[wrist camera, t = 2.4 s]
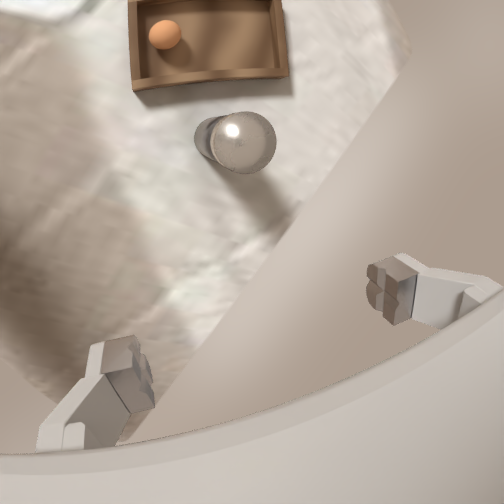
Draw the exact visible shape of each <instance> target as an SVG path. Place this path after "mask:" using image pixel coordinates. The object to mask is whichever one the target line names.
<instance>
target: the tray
mask: <svg viewBox="0 0 504 504" xmlns="http://www.w3.org/2000/svg"><path fill="white" fill-rule="evenodd" d="M163 20H170V21H173V22H175V23H177V24H178V25H179V27H180V29H181V38H180V40H179V42H178V43H177V44H176V45H175V46H174V47H172V48H170V49H164V50H163V49H158V48H156V47H154V46H153V45H152V44H151V43H150V40H149V32H150V30H151V28H152V27H153V25H155V24H156V23H158V22H160V21H163ZM128 30H129V51H130V67H131V80H132V90H133V92H136V91H142V90H148V89H154V88H160V87H167V86H175V85H183V84H192V83H202V82H213V81H226V80H244V79H281V78H284V77H288V76H289V71H288V59H287V49H286V38H285V29H284V19H283V10H282V2H281V0H128Z"/></svg>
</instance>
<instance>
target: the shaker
mask: <svg viewBox="0 0 504 504" xmlns="http://www.w3.org/2000/svg"><path fill="white" fill-rule="evenodd" d="M194 142H195V145H196V148H197V149H198V151H199V152H200V153H201V154H203V155H204V156H206V157H208V158H210V159H212V160H214V161H216V162H218V163H220V164H221V165H222V166H224V167H226V168H228V169H230V170H232V171H234V172H236V173H241V174H249V173H254V172H257V171H259V170H261V169H262V168H264V167H265V166H266V165H267V164H268V163H269V162H270V161H271V159H272V157H273V155H274V153H275V150H276V135H275V131H274V129H273V127H272V125H271V124H270V123H269V121H268V120H267V119H265V118H264V117H263V116H261V115H259V114H257V113H254V112H238V113H233V114H229V115H226V116H220V117H214V118H209V119H206V120H205V121H203V122H202V123H201V124H200V125H199V126H198V127H197V129H196V131H195V135H194Z"/></svg>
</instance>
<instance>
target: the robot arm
mask: <svg viewBox="0 0 504 504" xmlns="http://www.w3.org/2000/svg"><path fill="white" fill-rule="evenodd" d="M367 277H368V278H369V279H370V281H369V283H368V285H367V287H366V294H367V298H368V301H369V303H370V304H371V306H372V307H373V308H374V309H375V310H378V311H382V312H383V317H384V318H385V319H386V320H387V321H389V322H390V323H391V324H392V325H393V326H394V325H397V324H399V323H401V322H404V321H406V320H408V319H410V318H412V319H413V320H416V321H419V322H421V323H424V324H427V325H430V326H433V327H436V328H438V329H441V330H440V331H438V332H437V333H435V334H433V335H431V336H430V337H428V338H426V339H424V340H423V341H421V342H419V343H417V344H415V345H414V346H411V347H410V348H408V349H406V350H404V351H402V352H400V353H398V354H396V355H394V356H392V357H390V358H388V359H386V360H384V361H382V362H380V363H378V364H376V365H374V366H372V367H370V368H368V369H366V370H363V371H361V372H359V373H357V374H355V375H352V376H350V377H348V378H346V379H343V380H341V381H339V382H336V383H334V384H332V385H329V386H327V387H325V388H322V389H320V390H317V391H315V392H312V393H310V394H307V395H305V396H302V397H300V398H297V399H294V400H291V401H289V402H286V403H283V404H281V405H277V406H275V407H272V408H269V409H266V410H263V411H260V412H257V413H254V414H250V415H247V416H244V417H241V418H238V419H234V420H231V421H228V422H224V423H220V424H217V425H213V426H209V427H206V428H202V429H198V430H194V431H190V432H185V433H181V434H177V435H172V436H168V437H163V438H158V439H153V440H148V441H142V442H137V443H131V444H125V445H119V446H115V444H116V442H117V440H118V439H119V437H120V435H121V433H122V431H123V429H124V427H125V425H126V423H127V421H128V419H129V417H130V414H131V413H135V412H140V411H144V410H148V409H152V408H155V403H154V392H153V390H152V389H151V387H150V386H151V384H152V383H153V380H152V374H151V369H150V366H149V363H148V361H147V359H146V356H145V355H144V354H142V353H140V344H139V342H138V339H137V337H136V336H135V335H131V336H126V337H122V338H118V339H113V340H108V341H106V342H105V341H104V342H100V343H95V344H92V345H91V346H90V350H89V356H88V361H87V367H86V373H85V378H81V379H80V380H79V381H78V382H77V384H76V385H75V386H74V387H73V388H72V389H71V390H70V391H69V393H68V394H67V395H66V396H65V397H64V398H63V399H62V401H61V402H60V403H59V404H58V405H57V407H56V408H55V409H54V410H53V411H52V412H51V413H50V415H49V416H48V417H47V418H46V419H45V420H44V422H43V423H42V424H41V425H40V428H39V433H38V439H37V445H36V451H35V453H34V454H33V453H32V454H0V504H504V287H503V286H501V285H499V284H498V283H496V282H495V281H493V280H491V279H490V278H488V277H486V276H481V275H475V274H468V273H463V272H457V271H451V270H444V269H438V268H431V269H430V268H428V267H427V266H425V265H423V264H422V263H420V262H418V261H416V260H415V259H413V258H412V257H410V256H408V255H407V254H405V253H398V254H396V255H394V256H391V257H389V258H387V259H384V260H381V261H379V262H376V263H373V264H370V265H368V268H367Z"/></svg>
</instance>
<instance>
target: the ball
mask: <svg viewBox="0 0 504 504" xmlns="http://www.w3.org/2000/svg"><path fill="white" fill-rule="evenodd" d="M180 38H181V29H180V27H179V25H178V24H177V23H175V22H173V21H170V20H163V21H160V22H158V23H156V24H155V25H153V27H152V28H151V30H150V32H149V40H150V43H151V44H152V45H153V46H154V47H156V48H158V49H163V50H164V49H170V48H172V47H174V46H175V45H176V44H177V43H178V42H179V40H180Z"/></svg>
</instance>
